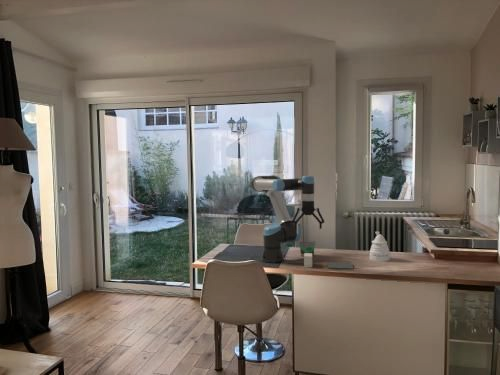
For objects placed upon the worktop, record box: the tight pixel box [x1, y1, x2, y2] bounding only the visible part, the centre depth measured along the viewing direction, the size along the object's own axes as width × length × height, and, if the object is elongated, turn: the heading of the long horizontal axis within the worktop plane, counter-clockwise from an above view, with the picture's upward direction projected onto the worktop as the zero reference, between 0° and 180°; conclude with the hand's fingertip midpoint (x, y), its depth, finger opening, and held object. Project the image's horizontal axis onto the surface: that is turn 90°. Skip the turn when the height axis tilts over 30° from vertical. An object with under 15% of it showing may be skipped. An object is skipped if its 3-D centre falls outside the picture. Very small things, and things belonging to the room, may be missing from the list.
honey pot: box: [369, 231, 391, 262], centre depth 281 cm, size 13×13×18 cm
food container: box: [298, 240, 316, 258], centre depth 291 cm, size 12×6×10 cm, turn 112°
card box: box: [303, 253, 313, 268], centre depth 267 cm, size 5×9×7 cm, turn 171°
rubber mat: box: [327, 262, 354, 270], centre depth 264 cm, size 15×13×1 cm
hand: (308, 233), depth 266 cm, fingers open, 13 cm apart
